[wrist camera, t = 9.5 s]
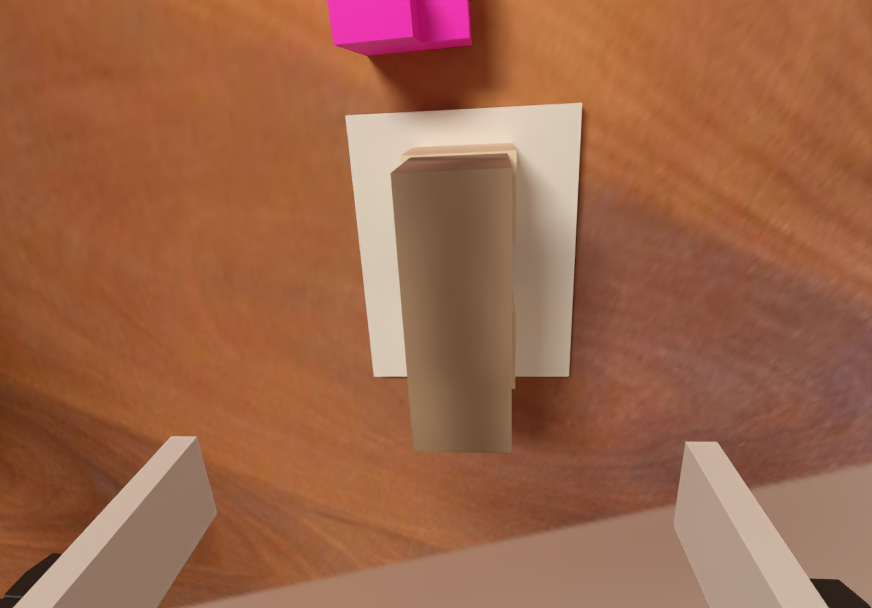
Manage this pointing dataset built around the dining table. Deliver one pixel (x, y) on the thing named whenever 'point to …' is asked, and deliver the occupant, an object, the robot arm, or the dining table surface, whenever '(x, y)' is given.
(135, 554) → the robot arm
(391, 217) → the post board
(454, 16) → the toy block
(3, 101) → the dining table surface
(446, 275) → the lintel block
